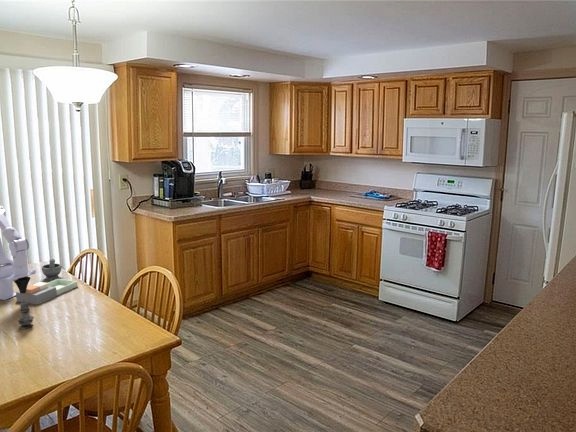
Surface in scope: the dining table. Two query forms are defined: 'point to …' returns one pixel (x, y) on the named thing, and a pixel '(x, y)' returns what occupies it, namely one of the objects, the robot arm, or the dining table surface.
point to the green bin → (62, 285)
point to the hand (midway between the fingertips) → (23, 292)
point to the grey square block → (37, 295)
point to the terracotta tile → (32, 289)
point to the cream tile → (41, 285)
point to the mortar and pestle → (51, 270)
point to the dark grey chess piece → (25, 316)
